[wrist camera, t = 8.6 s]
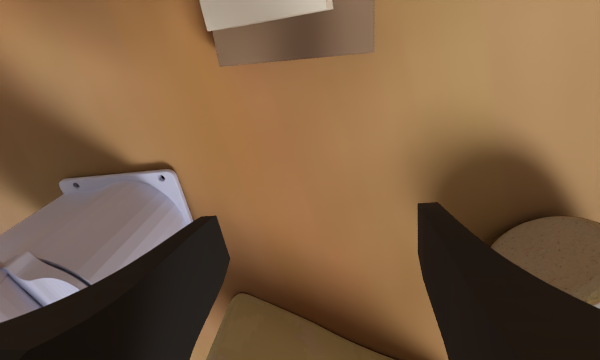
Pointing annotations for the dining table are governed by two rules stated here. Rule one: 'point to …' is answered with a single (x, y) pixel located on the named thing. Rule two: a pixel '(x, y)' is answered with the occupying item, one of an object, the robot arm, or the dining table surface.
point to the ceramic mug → (557, 253)
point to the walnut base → (300, 36)
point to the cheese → (278, 336)
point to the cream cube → (256, 11)
